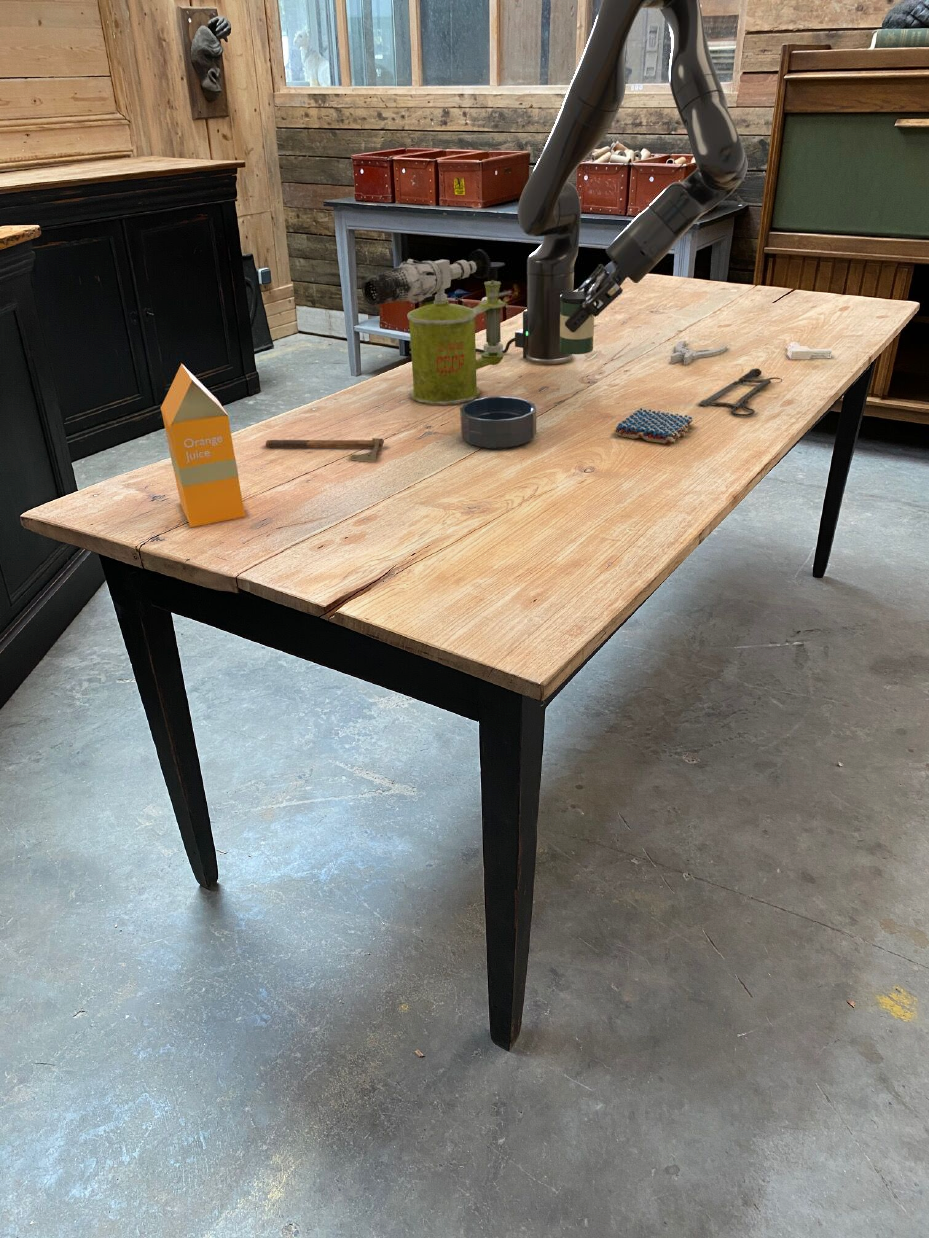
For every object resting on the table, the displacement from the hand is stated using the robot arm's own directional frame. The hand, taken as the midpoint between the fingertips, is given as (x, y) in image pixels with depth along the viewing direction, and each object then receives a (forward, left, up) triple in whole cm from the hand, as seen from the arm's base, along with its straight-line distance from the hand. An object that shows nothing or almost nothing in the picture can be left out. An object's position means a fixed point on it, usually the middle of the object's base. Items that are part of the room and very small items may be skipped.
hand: (566, 323), depth 157 cm
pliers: (+2, +44, -15) cm, 47 cm away
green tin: (+1, +1, -4) cm, 5 cm away
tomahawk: (-21, -36, -15) cm, 45 cm away
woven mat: (+18, 0, -15) cm, 24 cm away
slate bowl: (-2, -17, -15) cm, 23 cm away
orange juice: (-17, -63, -15) cm, 67 cm away
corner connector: (+21, +57, -15) cm, 63 cm away
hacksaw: (+22, +26, -15) cm, 38 cm away
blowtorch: (-24, -4, -15) cm, 29 cm away
